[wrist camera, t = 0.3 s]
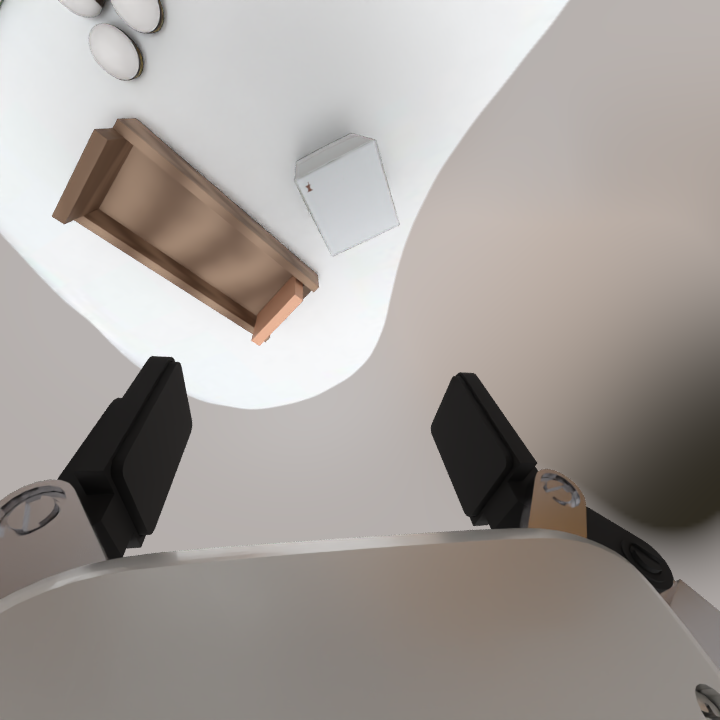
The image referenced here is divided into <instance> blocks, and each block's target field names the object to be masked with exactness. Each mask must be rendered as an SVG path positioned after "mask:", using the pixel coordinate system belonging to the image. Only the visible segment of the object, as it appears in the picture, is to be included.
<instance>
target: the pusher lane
mask: <svg viewBox="0 0 720 720" xmlns="http://www.w3.org/2000/svg"><path fill="white" fill-rule="evenodd" d="M52 217H53V218H55V219H57V220H58V221H60V222H61V223H63V224H66V223H68V222H71V221H73V220H74V221H76V222H78V223H79V224H81V225H82V226H84V227H85V228H87V229H89V230H90V231H92V232H93V233H95V234H96V235H98V236H100V237H101V238H103V239H104V240H106V241H107V242H109V243H111V244H112V245H114V246H115V247H117V248H118V249H120V250H121V251H123V252H125V253H126V254H128V255H129V256H131V257H132V258H134V259H136V260H137V261H139V262H140V263H142V264H143V265H145V266H147V267H148V268H150V269H151V270H153V271H154V272H156V273H158V274H159V275H161V276H162V277H164V278H165V279H167V280H169V281H170V282H172V283H173V284H175V285H176V286H178V287H179V288H181V289H183V290H184V291H186V292H187V293H189V294H190V295H192V296H194V297H195V298H197V299H198V300H200V301H201V302H203V303H205V304H206V305H208V306H209V307H211V308H212V309H214V310H216V311H217V312H219V313H220V314H222V315H223V316H225V317H227V318H228V319H230V320H231V321H233V322H234V323H236V324H238V325H239V326H241V327H242V328H244V329H245V330H247V331H248V332H250V333H252V334H253V332H254V327H255V323H256V318H257V314H258V313H259V312H260V311H261V310H262V309H263V308H264V307H265V305H266V304H267V303H268V302H269V301H270V300H271V299H272V298H273V297H274V296H275V295H276V293H277V292H278V291H279V290H280V289H281V288H282V287H283V286H284V285H285V284H286V282H287V281H288V280H289V279H290V278H291V277H292V276H294V277H296V278H297V279H298V280H299V281H300V282H302V283H303V299H304V298H305V297H306V296H307V295H308V294H309V293H310V292H311V291H313V292H315V291H316V290H317V289H318V287H319V283H318V275H317V274H316V273H315V272H314V271H313V270H311V269H310V268H309V267H308V266H307V265H306V264H304V263H303V262H302V261H301V260H300V259H299V258H297V257H296V256H295V255H294V254H293V253H292V252H290V251H289V250H288V249H287V248H286V247H285V246H284V245H282V244H281V243H280V242H279V241H278V240H277V239H275V238H274V237H273V236H272V235H271V234H270V233H268V232H267V231H266V230H265V229H264V228H263V227H261V226H260V225H259V224H258V223H257V222H256V221H254V220H253V219H252V218H251V217H250V216H249V215H248V214H246V213H245V212H244V211H243V210H242V209H241V208H239V207H238V206H237V205H236V204H235V203H234V202H232V201H231V200H230V199H229V198H228V197H227V196H225V195H224V194H223V193H222V192H221V191H220V190H218V189H217V188H216V187H215V186H214V185H213V184H212V183H210V182H209V181H208V180H207V179H206V178H205V177H203V176H202V175H201V174H200V173H199V172H198V171H196V170H195V169H194V168H193V167H192V166H191V165H189V164H188V163H187V162H186V161H185V160H184V159H182V158H181V157H180V156H179V155H178V154H177V153H176V152H174V151H173V150H172V149H171V148H170V147H169V146H167V145H166V144H165V143H164V142H163V141H162V140H160V139H159V138H158V137H157V136H156V135H155V134H153V133H152V132H151V131H150V130H149V129H148V128H146V127H145V126H144V125H143V124H142V123H141V122H140V121H138V120H137V119H117V121H116V123H115V125H114V126H113V128H109V129H94V131H93V133H92V135H91V137H90V139H89V141H88V143H87V145H86V147H85V149H84V151H83V153H82V155H81V157H80V160H79V162H78V164H77V166H76V168H75V170H74V172H73V174H72V176H71V178H70V180H69V182H68V184H67V186H66V188H65V190H64V192H63V194H62V196H61V198H60V200H59V202H58V205H57V207H56V209H55V211H54V213H53V215H52ZM269 338H270V335H269V336H268V337H267V339H266V340H265V341H264V342H266V341H267V340H268V339H269Z"/></svg>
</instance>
